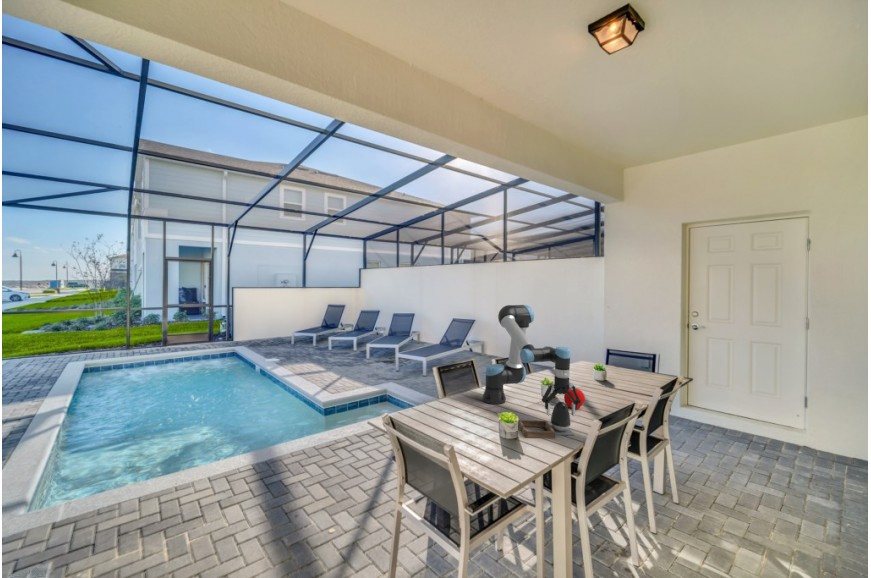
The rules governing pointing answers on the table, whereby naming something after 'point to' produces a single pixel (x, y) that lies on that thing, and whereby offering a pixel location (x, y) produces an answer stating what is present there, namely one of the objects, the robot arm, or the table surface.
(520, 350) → the robot arm
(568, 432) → the rubber mat
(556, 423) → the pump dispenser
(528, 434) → the frame
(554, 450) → the table surface
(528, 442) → the table surface
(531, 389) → the table surface
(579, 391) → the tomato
